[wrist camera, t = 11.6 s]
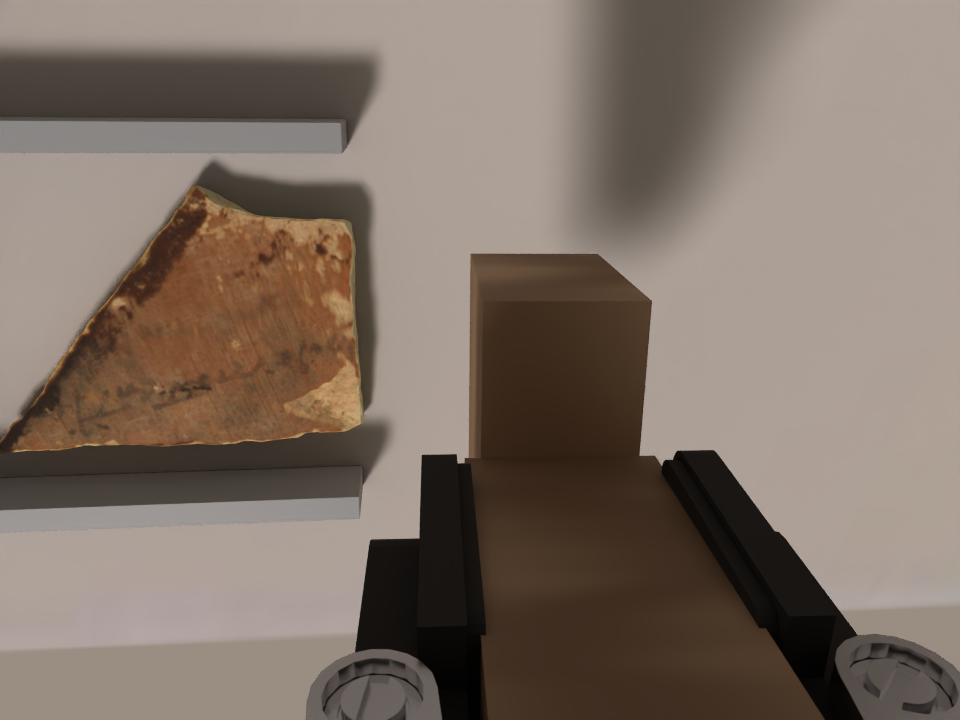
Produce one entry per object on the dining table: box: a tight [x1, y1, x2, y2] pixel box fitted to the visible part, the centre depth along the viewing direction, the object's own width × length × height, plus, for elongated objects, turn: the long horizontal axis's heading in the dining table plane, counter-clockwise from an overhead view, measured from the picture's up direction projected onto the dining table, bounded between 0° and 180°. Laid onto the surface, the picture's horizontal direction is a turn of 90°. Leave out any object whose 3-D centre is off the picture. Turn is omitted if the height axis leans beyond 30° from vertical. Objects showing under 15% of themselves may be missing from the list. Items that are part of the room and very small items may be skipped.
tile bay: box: [0, 117, 363, 533], centre depth 22 cm, size 14×12×2 cm
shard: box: [0, 185, 364, 454], centre depth 23 cm, size 11×8×2 cm
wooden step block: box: [465, 254, 825, 720], centre depth 11 cm, size 3×8×11 cm, turn 179°
